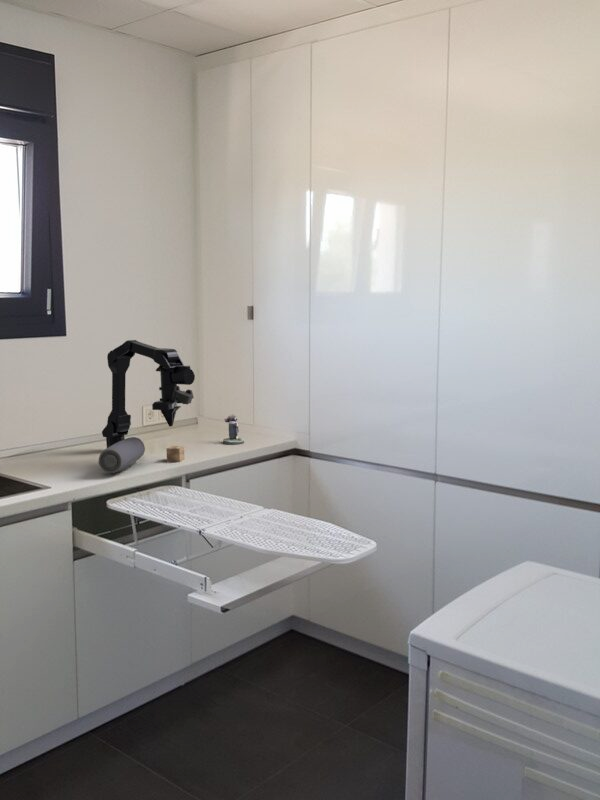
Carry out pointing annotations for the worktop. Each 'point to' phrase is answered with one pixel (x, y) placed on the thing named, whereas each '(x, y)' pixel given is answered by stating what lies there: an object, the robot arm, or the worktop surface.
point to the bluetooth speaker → (121, 455)
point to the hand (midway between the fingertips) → (170, 426)
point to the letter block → (175, 454)
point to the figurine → (233, 432)
